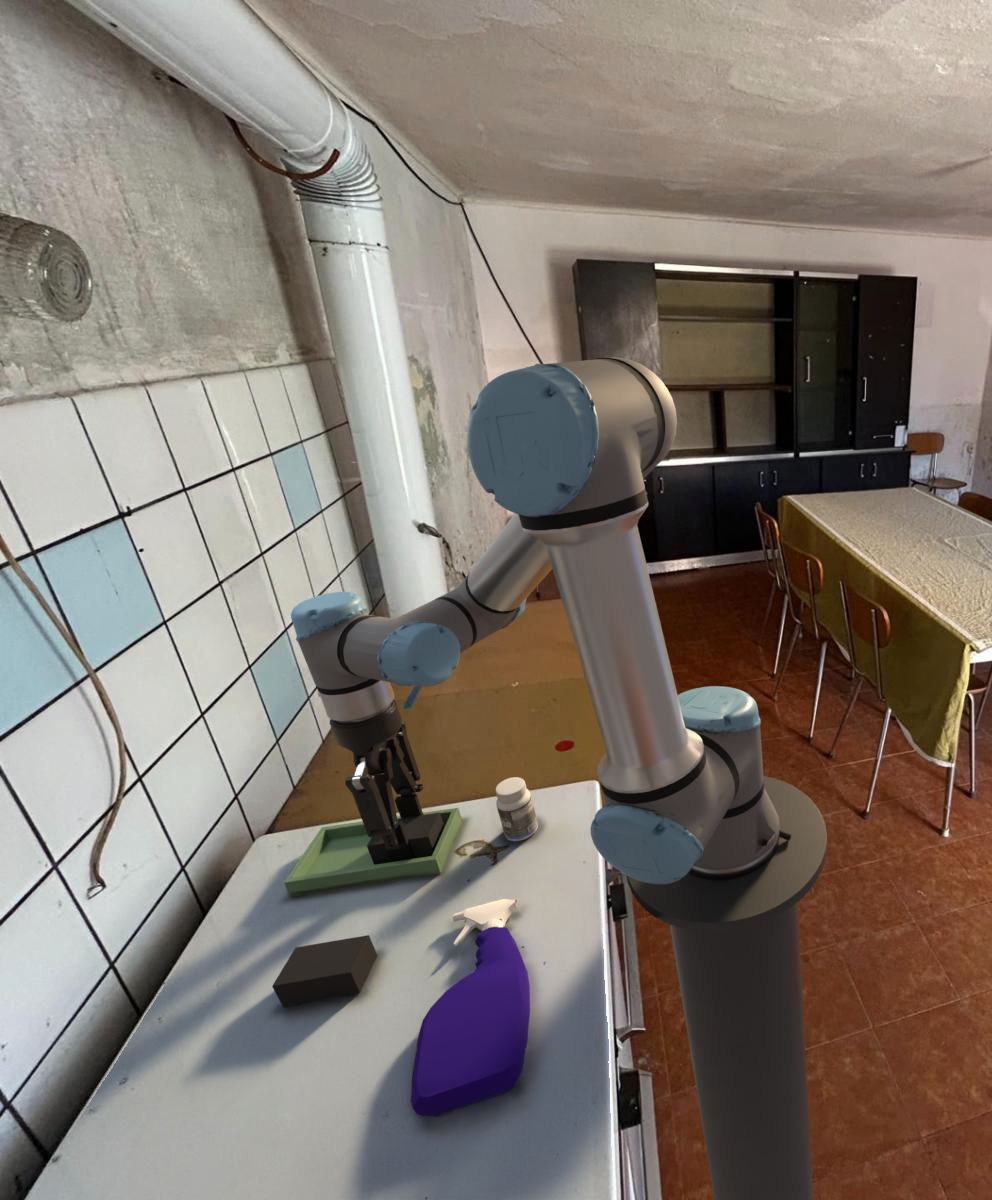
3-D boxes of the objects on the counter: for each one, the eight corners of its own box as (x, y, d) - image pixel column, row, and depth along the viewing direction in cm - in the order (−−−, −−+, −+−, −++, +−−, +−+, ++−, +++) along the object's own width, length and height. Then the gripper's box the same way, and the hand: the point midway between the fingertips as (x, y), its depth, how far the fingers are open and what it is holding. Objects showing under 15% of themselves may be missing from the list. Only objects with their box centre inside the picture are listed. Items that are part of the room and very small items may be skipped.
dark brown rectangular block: (377, 955, 79) (369, 934, 78) (360, 993, 75) (350, 972, 73) (305, 967, 78) (295, 947, 77) (282, 1007, 73) (271, 986, 72)
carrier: (462, 820, 100) (458, 807, 99) (440, 873, 91) (435, 859, 90) (327, 840, 97) (321, 827, 96) (290, 897, 88) (283, 882, 87)
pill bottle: (500, 830, 98) (487, 785, 95) (531, 815, 101) (520, 770, 98) (511, 847, 95) (499, 801, 91) (543, 830, 98) (532, 785, 94)
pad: (445, 830, 97) (439, 812, 96) (434, 855, 93) (428, 836, 91) (387, 839, 96) (380, 820, 95) (373, 865, 92) (366, 845, 90)
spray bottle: (523, 1068, 63) (532, 883, 85) (397, 1111, 60) (439, 908, 82) (529, 1087, 65) (536, 900, 86) (406, 1131, 61) (445, 925, 83)
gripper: (360, 677, 93) (405, 807, 102) (294, 754, 76) (355, 900, 86) (417, 671, 94) (456, 800, 103) (364, 745, 77) (416, 890, 87)
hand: (410, 845), depth 94 cm, fingers closed on pad, 5 cm apart
